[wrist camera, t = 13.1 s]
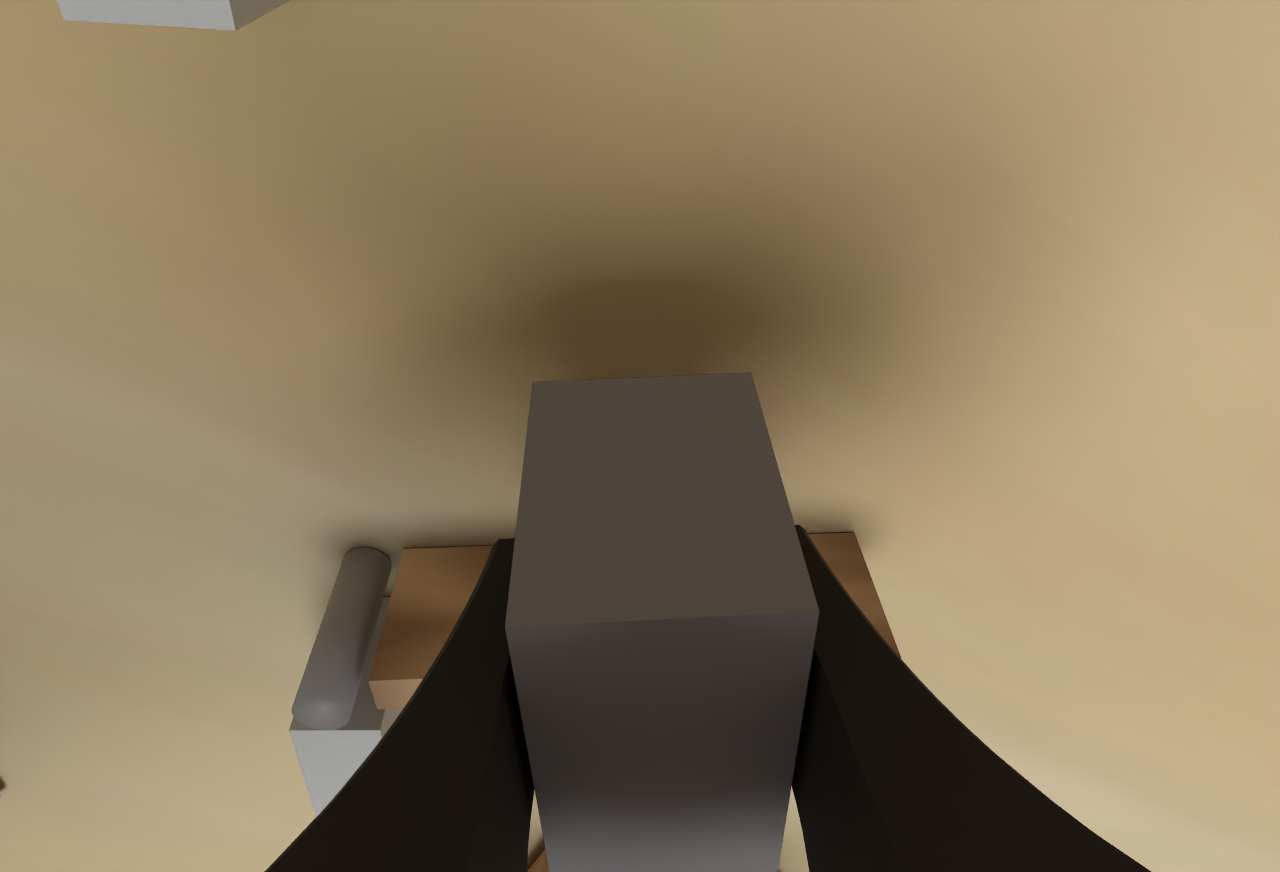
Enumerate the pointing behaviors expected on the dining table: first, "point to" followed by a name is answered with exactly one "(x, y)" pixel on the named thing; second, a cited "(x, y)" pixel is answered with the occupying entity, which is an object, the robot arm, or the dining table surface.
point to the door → (448, 576)
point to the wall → (351, 627)
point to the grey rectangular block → (658, 625)
